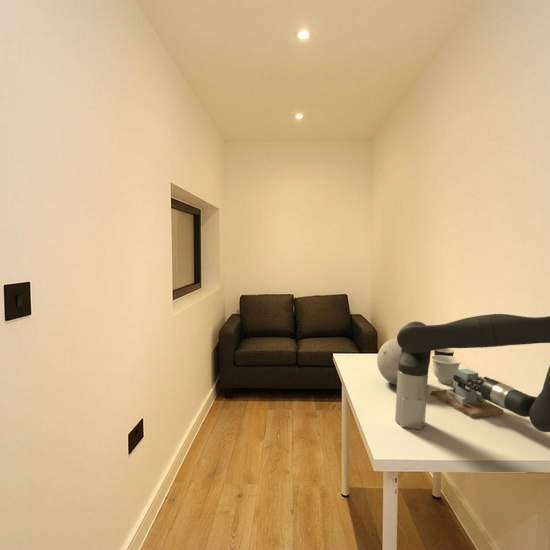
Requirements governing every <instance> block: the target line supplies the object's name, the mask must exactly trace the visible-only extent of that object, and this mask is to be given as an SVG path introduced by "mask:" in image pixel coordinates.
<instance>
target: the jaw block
mask: <svg viewBox="0 0 550 550" xmlns="http://www.w3.org/2000/svg"><path fill="white" fill-rule="evenodd" d="M457 376H459V377H462V378H464V379H473V380H478V377H479V373H478V372H477V371H474V370H473V369H469V368H460V369H459V368H458V369H457ZM465 382H466V381H465ZM470 384H471V386H472V382H471V381H470ZM457 385H458V382H456V390H455V393H456V394H458V395H459V396H461V397H463V398H465V403H473V402H476V400H477V392H476V391H475V390H471V392H467V391H466V390H464V389H462V388H460V387H458V386H457Z"/></svg>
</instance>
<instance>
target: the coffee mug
mask: <svg viewBox="0 0 550 550" xmlns="http://www.w3.org/2000/svg"><path fill="white" fill-rule="evenodd" d="M433 351H434V352H433V353H434V355H433V356H435V355H444V356H452V357H454V353H455V351H454V350H453V349H452V348H446V349H438V350H433Z"/></svg>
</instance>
